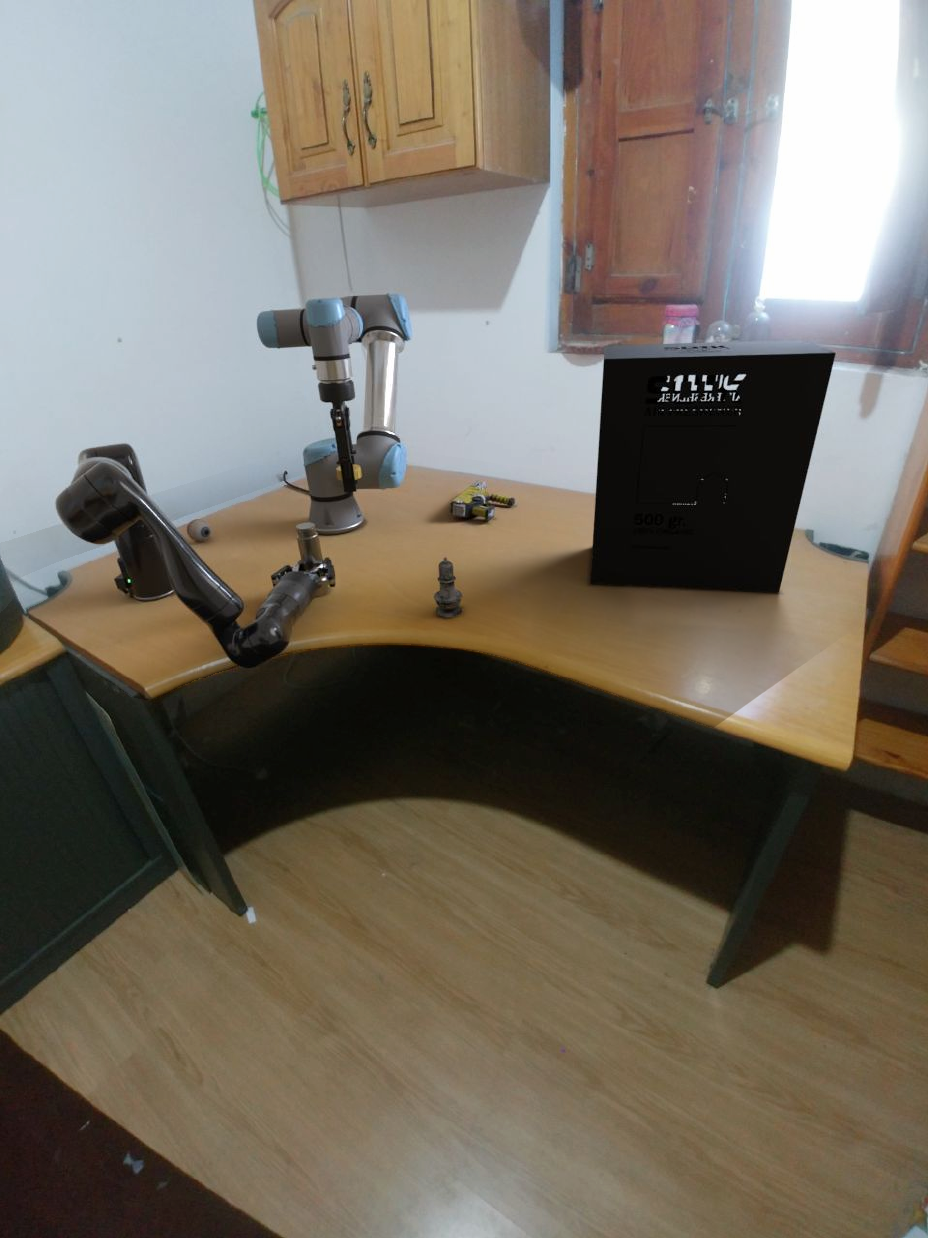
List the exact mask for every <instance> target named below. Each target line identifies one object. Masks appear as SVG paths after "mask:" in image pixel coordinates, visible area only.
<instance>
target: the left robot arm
mask: <svg viewBox="0 0 928 1238" xmlns="http://www.w3.org/2000/svg"><path fill="white" fill-rule="evenodd" d="M54 504H55V511H56V513H57V515H58V517H59V519H60V520H61V522H62V523H63V525H64V526H65V527H66V528H67V529H68V530H69V531H70V532H71V533H72V534H73V535H75V536H76V537H77V538H79V539H80V540H82V541H85V542H87V543H90V544H92V545H93V544H94V545H106V544H109V543H111V542H113V543H114V544H115V547H116V550H117V553H118V557H117V558H116V563H117V565H118V568H119V570H120V573H119V574H118V575H117V576H115V577H114V578H113V580H114V583H115V585H116V588H117V590H120V591H121V592H122V593H124V594H125V595H128V594H129V597H130V598H131V599H132V598H134V599H135V600H137V601H140V602H141V601H142V602H148V601H149V602H150V601H156V600H160V599H163V598H167V597H168V596H171V595H172V594H174V595H175V597H177V598H178V600H179V601H180V602H181V603H182V604H183V605H184V606H185V607H186V608H187V609H188V610H189V611H190V612H192V614H193V615H194V616H196V617H197V618H198V619H199V620H200V621H201V622H202V623H204V624H205V625H206V626H207V627H208V628H209V630H210V632H211V633H212V635H213V636H214V638H215V640H216V641H217V643H218V644H219V646H220V647H221V649H222V650H223V652H224V653H225V655H226V656H227V658H228V660H230V661H231V662H232V663H233V664H235V666H236V665H237V666H238V667H241V668H243V669H254V668H256V667H258V666H260V665H261V664H264V663H265V662H267V661H269V660H271V659H272V658H275V657H276V656H278V655H281V653H283V652H284V651H285V650H286V648H287V647H288V646H289V644H290V643H291V639H292V634H293V628H294V626H295V625H296V623H297V622H298V620H299V619H300V618H301V617H302V616H303V615H304V614H305V612H306V611H307V609H308V607H309V606H310V604H311V603H312V602H313V600H314V599H315V594H316V591H317V589H319V588H320V587H321V586H322V585H325V584H327V585H328V586H329V588H335V587H336V571H335V570H336V569H335V565H334V564H332V563H333V562H332V559H330V557H325V558H323V562H322V563H321V565H320V566H318V567H316V566H315V567H313V568H312V569H310V570H309V571H303V566H302V561H301V559H300V560H298V562H297V563H295V564H293V565H292V566H291V565H290V564H286V565H283V566H282V568H280V569H279V570H277V571H275V572H274V573H273V574H271V575H270V579H271V585H272V588H271V590H270V591H269V593H268V594H267V597H266V598H265V600H263V602H262V603H261V604H260V606H259V608H258V609H257V610H256V612H255V616H254V620H253V621H252V622H250V623H248V624H246V625H245V626H243V627H242V626H241V625H240V624H239V623H238V621H237V620H238V618H239V617H240V616H241V615H242V613H243V611H244V609H245V602H244V600H243V599H242V597H241V596H239V594H238V593H237V592H236V591H234V589H233V588H232V587H230V585H229V584H227V583H226V582H225V581H224V579H222V578H221V577H220V576H219V575H218V574H217V573H216V572H215V571H214V570H213V569H212V568H211V567H210V566H209V565H208V564H207V563H206V562H205V561H204V559H203V558H202V557H201V556H200V555H199V553H198V552H197V551H196V550H195V549H194V548H193V546H191V545H192V544H190V542H188V540H187V539H186V538H185V537H184V535H183V533H181V532H180V530H179V529H178V528H177V527H176V525H174V523H173V522H172V521H171V520H170V519H169V518H168V517H167V515H166V514H165V513H164V512H163V510H162V509H161V508H160V507H159V506H158V505H157V503H155V501H154V500H153V499H152V498H151V497H150V496H149V494H148V490H147V487H146V483H145V480H144V476H143V472H142V468H141V464H140V460H139V458H138V455H137V452H136V451H135V448H133V446H131V444H129V443H127V442H122V443H120V442H119V443H113V444H107V445H106V444H105V445H100V446H93V447H88V448H85V449H83V450H81V451H80V452H79V454H78V457H77V469H75V472H74V474H73V477H72V480H71V482H70V484H69V485H68V486H67V487H65V489H63V490H62V491H61V492H60V493H58V496H57V497H56V498H55V502H54Z"/></svg>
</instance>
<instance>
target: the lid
mask: <svg viewBox="0 0 928 1238" xmlns="http://www.w3.org/2000/svg"><path fill="white" fill-rule="evenodd" d="M353 469H354V476H355V480H356V479H359V478H361V476H362V473H361V469H360V466H359V465H356V464H353ZM336 470H337V471H336V472H337V478H338V480H341V481H343V480H342V474H341V467H340V466H339V467H337V468H336Z"/></svg>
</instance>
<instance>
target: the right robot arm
mask: <svg viewBox="0 0 928 1238" xmlns="http://www.w3.org/2000/svg"><path fill="white" fill-rule="evenodd" d="M256 331H257V335H258V338H259V340H260V342H261V344H262V345H263V346H264V347H265V348H267V349H279V350H280V349H288V348H303V347H309V348H310V347H311V350H312V351H311V352H312V358H313V360H314V361H313V362H314V364H312V366H311V369H312V370H313V371H316V372H315V375H316V379H317V380H318V384H317V390H318V396H319V400H320V401H321V402H322V403H325V404H326V403H331V404H332V408H330V410H329V416H330V419H331V421H332V429H333V430H332V431H334V437H329V438H325V439H321V440H318V441H314V442H312V443H309V444H308V445H307V446H305V447H304V448H303V450H302V457H303V459H302V460H303V467H304V471H305V477H306V482H307V486H308V489H305V488H302V487H299V486H296V485H294V484H292V483H290V482H289V481H288V480H287V479H286V475H288V471H287V470H284V471H283V475H282V476H283V477H282V478H283V481H284V483H285V484H286V485H288V486H289V487H290V488H294V489H296V490H299V491H301V492H304V493H308V494H309V498H310V507H309V513H308V522H307V523H314V524H315V530H316V532H317V533H318V535H323V536H324V535H325V536H327V535H329V536H331V535H339V534H340V535H341V534H345V533H350V532H353V531H355V530H357V529H359V528H361V527H362V526H363V525H364V523H365V519H364V514H363V512H362V510H361V508H360V505H359V504H358V501H357V500H356V498H355V495H354V493H356V492H357V491H358V490H386V489H387V490H388V489H396V488H398V487H400V486H401V484H402V483H403V481H404V478H405V475H406V470H407V461H408V460H407V449H406V446H405V444H404V443H402V442H401V437H400V436H399V435H398V434H397V433H396V423H397V422H396V421H397V397H398V379H399V377H398V376H399V356H400V355H399V354H400V353H402V352H403V351H404V349H405V345H406V344H405V343H406V342H409V341H411V340H412V338H413V337H412V336H413V334H412V333H413V332H412V323H411V317H410V311H409V308H408V303H407V301H406V299H405V297H404V296H403V295H402V294H400V293H389V292H387V293H386V294H368V295H367V294H365V295H363V294H362V295H347V296H344V297H324V298H311V299H308V300H307V301H306V302H305V307H300V308H290V309H275V310H274V309H271V310H263V311H261V312H260V313H258V315H257V318H256ZM353 343H354V344H355V343H356V344H357V343H360V344H362V346H363V348H364V349H365V350H366V364H365V381H364V384H365V385H364V386H365V387H364V401H363V402H364V403H363V423H362V430H361V431H360V432H358V433H357V435H356V441H355V443H353V440H352V439H353V438H352V432H351V419H350V416H351V415H350V414H351V412H350V411H351V410H350V407H348V405H346V402H350V401H353V400H354V399H355V398H356V391H355V390H356V389H355V384H354V381H353V380H352V378H353V377H354V374H353V366H352V358H351V354H350V347H349V345H352V344H353ZM353 464H356V465H359V466H360V469H361V473H362V476H361V478H359V479H356V480H355V476H354V469H353ZM339 466H340V467H341V474H342V480H343V481H341V480H338V478H337V472H336V471H337V470H336V468H337V467H339Z"/></svg>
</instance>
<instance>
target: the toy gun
mask: <svg viewBox="0 0 928 1238" xmlns="http://www.w3.org/2000/svg"><path fill="white" fill-rule="evenodd" d="M486 487H487V482H486V481H485V480H483V481H482V482H481V480H477V481H476V482H474V483H473V484H472V485H469V486H468V487H467V488H466V489H465V490H463V491H462V492H461V493H460V494H459V495H457V496H456V497H455V498H454V499H453V500H451V502H450V503H449V504H450V505H449V513H450V515H451V516H454V518H458V519H459V518H460V519H461V518H471V517H474V516H477V517H481V518H485V521H487V522H488V521H490V520H491V519H493V518H494V517H495V511H496V509H495V508H496V507H495V506H494V505H492V504H491V505H490V506H489V505H488V504H487V503H489V502H490V501H491V502H492V503H499V504H502V505H507V506H508V507H513V506H514V505H515V503H516V499H515V498H514V497H511V496H509V497H508V496H506V495H505V496H504V495H501V494H497V493H491V495H490V494H489V492H488V491H487V489H485V488H486Z"/></svg>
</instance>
